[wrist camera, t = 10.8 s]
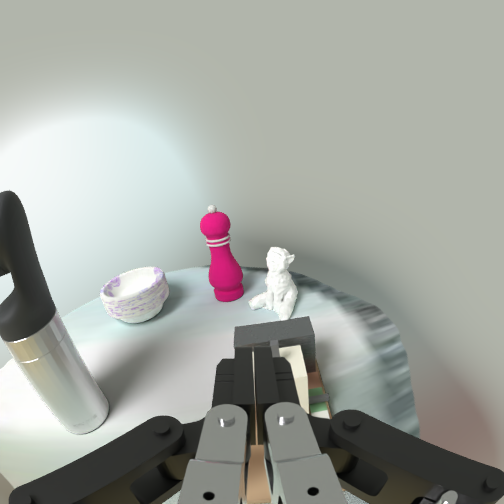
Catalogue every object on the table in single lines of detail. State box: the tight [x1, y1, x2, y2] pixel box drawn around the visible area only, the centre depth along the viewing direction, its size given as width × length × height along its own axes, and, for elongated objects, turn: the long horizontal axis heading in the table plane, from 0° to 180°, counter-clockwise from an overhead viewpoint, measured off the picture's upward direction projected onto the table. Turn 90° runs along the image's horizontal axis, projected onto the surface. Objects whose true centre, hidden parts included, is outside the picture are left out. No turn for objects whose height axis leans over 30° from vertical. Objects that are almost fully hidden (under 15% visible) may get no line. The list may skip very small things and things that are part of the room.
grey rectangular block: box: [234, 316, 316, 373], centre depth 38 cm, size 4×10×7 cm, turn 91°
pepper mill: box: [200, 205, 244, 302], centre depth 60 cm, size 7×7×20 cm
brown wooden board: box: [247, 358, 346, 504], centre depth 31 cm, size 22×11×1 cm, turn 1°
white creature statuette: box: [249, 247, 298, 321], centre depth 55 cm, size 10×9×12 cm
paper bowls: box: [100, 267, 169, 323], centre depth 61 cm, size 15×15×8 cm
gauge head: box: [252, 340, 329, 414], centre depth 30 cm, size 5×8×11 cm, turn 91°
